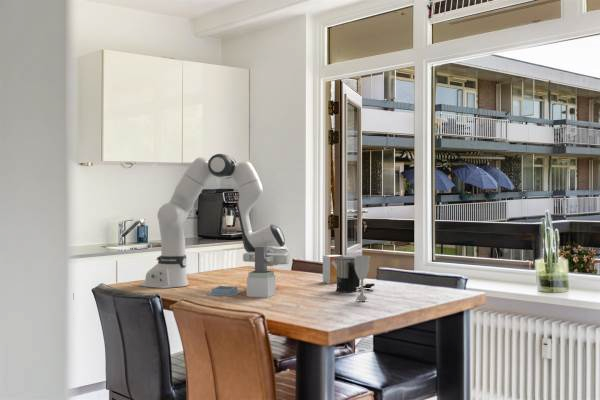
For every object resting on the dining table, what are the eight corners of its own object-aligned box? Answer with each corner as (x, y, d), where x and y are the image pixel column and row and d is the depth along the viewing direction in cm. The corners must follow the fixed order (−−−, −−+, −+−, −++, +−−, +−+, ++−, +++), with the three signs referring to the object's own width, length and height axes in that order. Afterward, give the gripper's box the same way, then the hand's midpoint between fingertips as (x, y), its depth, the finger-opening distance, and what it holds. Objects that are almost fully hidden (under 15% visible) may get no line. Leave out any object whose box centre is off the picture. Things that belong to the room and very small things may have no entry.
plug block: (254, 274, 267) (254, 246, 267) (258, 273, 271) (258, 245, 271) (263, 275, 266) (263, 247, 266) (266, 274, 270) (266, 246, 270)
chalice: (365, 303, 250) (365, 257, 249) (350, 301, 253) (350, 256, 253) (373, 300, 256) (373, 256, 255) (358, 298, 259) (358, 255, 259)
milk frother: (331, 291, 279) (331, 257, 279) (353, 286, 291) (353, 254, 291) (356, 294, 270) (356, 260, 269) (378, 290, 281) (378, 257, 281)
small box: (330, 283, 300) (330, 256, 300) (322, 282, 306) (322, 255, 305) (343, 282, 305) (343, 255, 304) (335, 280, 310) (335, 254, 310)
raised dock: (246, 296, 266) (246, 272, 265) (254, 292, 275) (254, 269, 275) (268, 297, 263) (268, 273, 263) (275, 293, 272) (275, 270, 272)
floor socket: (206, 294, 270) (206, 289, 270) (217, 290, 281) (217, 285, 281) (232, 296, 266) (232, 290, 266) (242, 291, 278) (242, 286, 278)
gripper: (249, 248, 284) (237, 251, 271) (292, 249, 278) (282, 252, 265) (249, 262, 284) (237, 265, 271) (292, 263, 278) (282, 267, 265)
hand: (260, 259), depth 268 cm, fingers closed on plug block, 4 cm apart
